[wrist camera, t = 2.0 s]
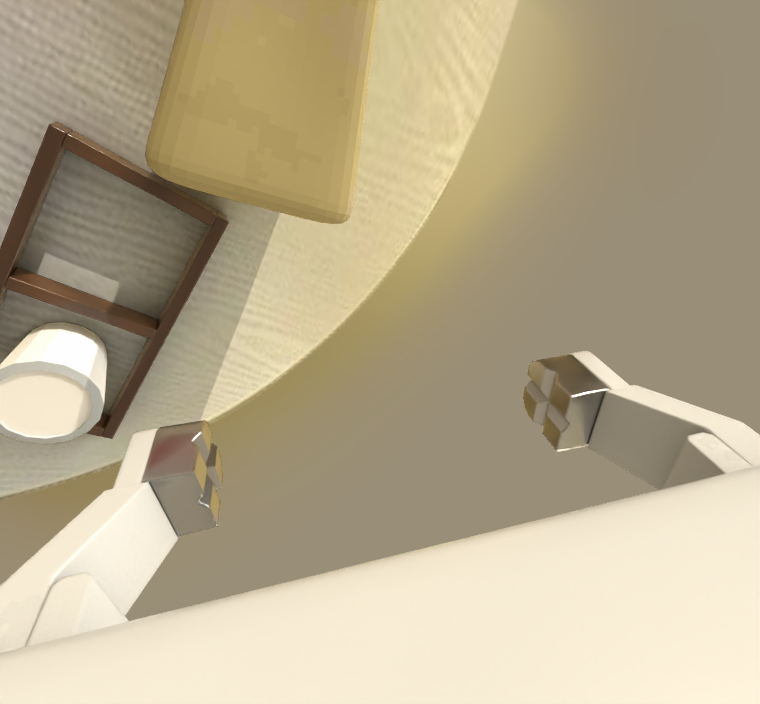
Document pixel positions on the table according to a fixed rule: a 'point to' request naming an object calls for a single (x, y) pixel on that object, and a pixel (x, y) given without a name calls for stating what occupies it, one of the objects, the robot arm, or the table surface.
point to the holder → (6, 275)
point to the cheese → (267, 103)
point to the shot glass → (53, 384)
